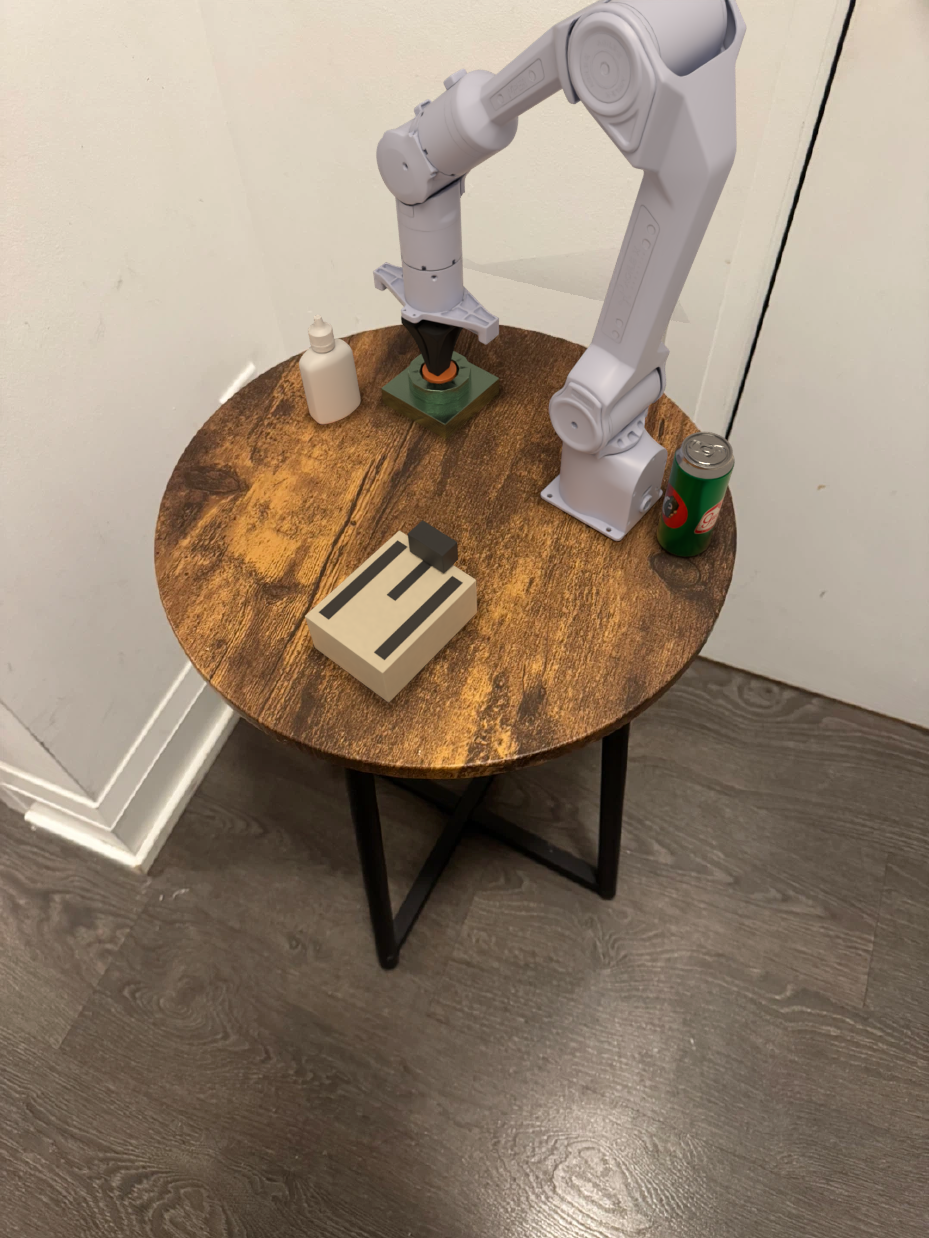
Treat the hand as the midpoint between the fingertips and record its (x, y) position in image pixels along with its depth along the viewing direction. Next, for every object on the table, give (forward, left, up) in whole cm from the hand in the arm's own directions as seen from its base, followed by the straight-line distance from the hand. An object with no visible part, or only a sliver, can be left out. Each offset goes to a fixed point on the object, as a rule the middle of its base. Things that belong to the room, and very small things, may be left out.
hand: (439, 369), depth 94 cm
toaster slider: (-17, +20, +1) cm, 26 cm away
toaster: (-17, +26, -4) cm, 31 cm away
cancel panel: (0, 0, -4) cm, 4 cm away
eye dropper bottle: (+8, +8, -4) cm, 12 cm away
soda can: (-31, +1, -4) cm, 31 cm away
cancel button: (0, 0, -2) cm, 2 cm away
